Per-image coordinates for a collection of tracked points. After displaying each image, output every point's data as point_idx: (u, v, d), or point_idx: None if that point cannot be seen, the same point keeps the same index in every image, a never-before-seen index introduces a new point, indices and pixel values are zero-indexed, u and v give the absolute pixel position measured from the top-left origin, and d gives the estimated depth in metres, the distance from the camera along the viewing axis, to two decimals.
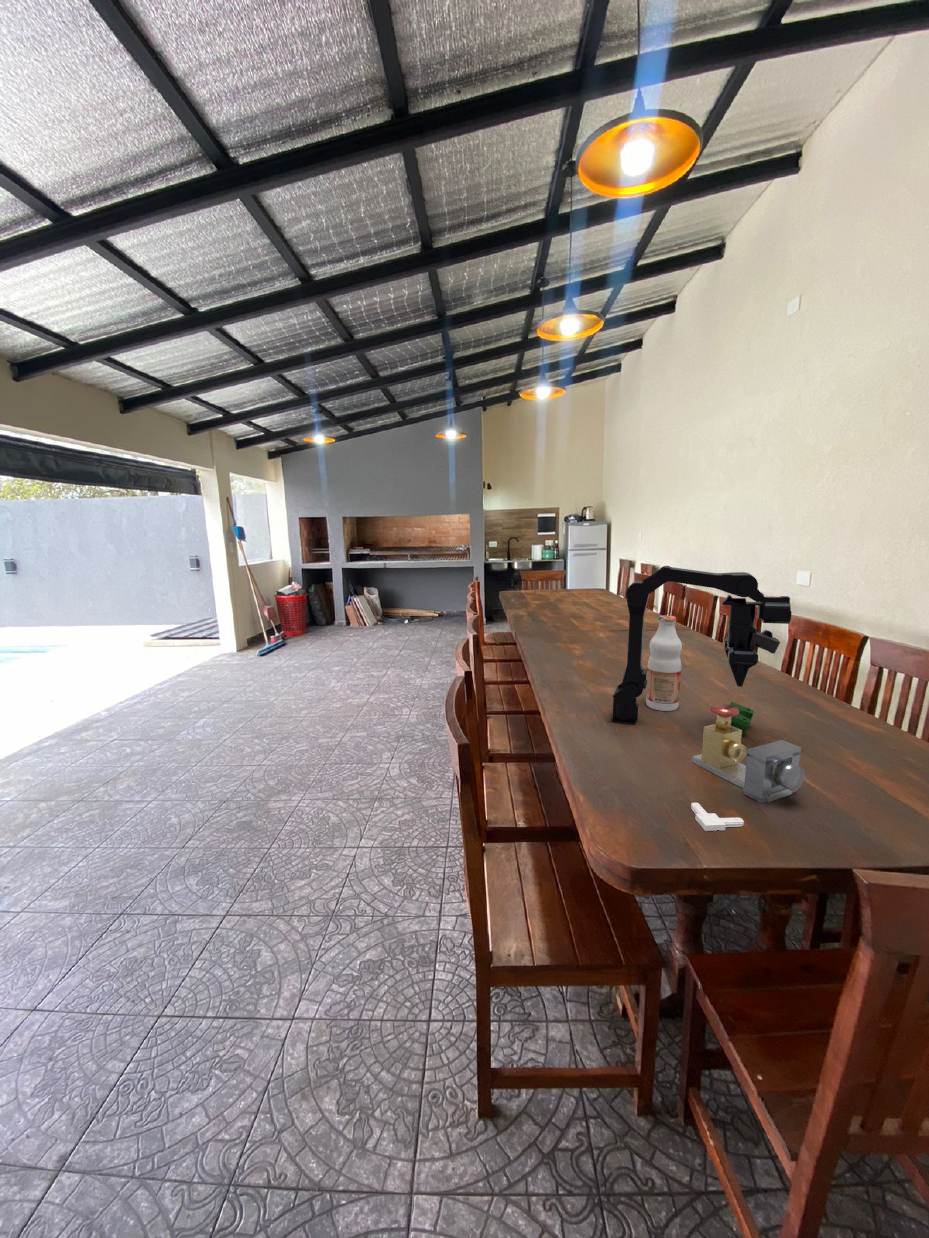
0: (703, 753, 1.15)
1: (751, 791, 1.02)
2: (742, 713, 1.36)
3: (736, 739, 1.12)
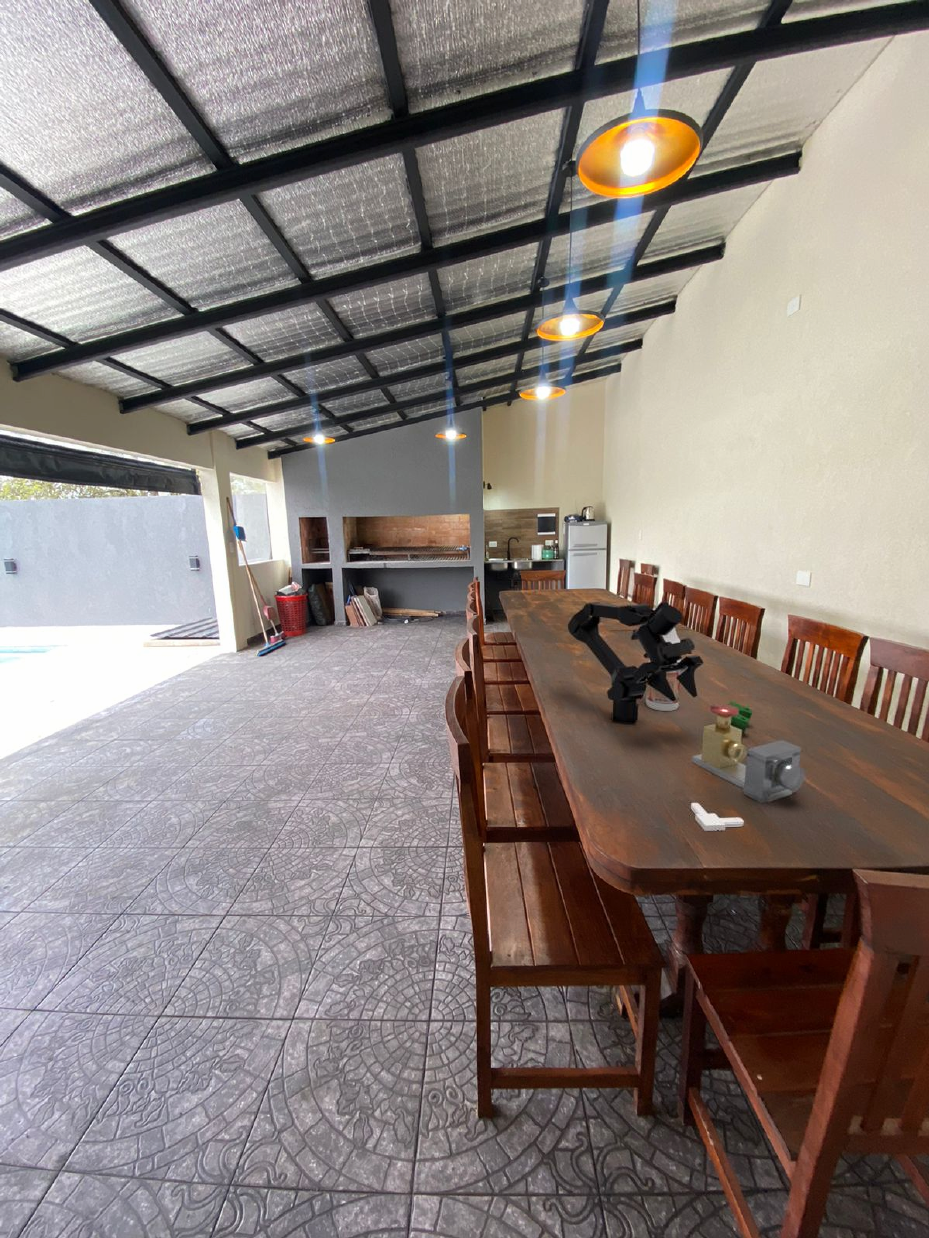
0: (703, 753, 1.15)
1: (751, 791, 1.02)
2: (741, 713, 1.36)
3: (736, 739, 1.12)
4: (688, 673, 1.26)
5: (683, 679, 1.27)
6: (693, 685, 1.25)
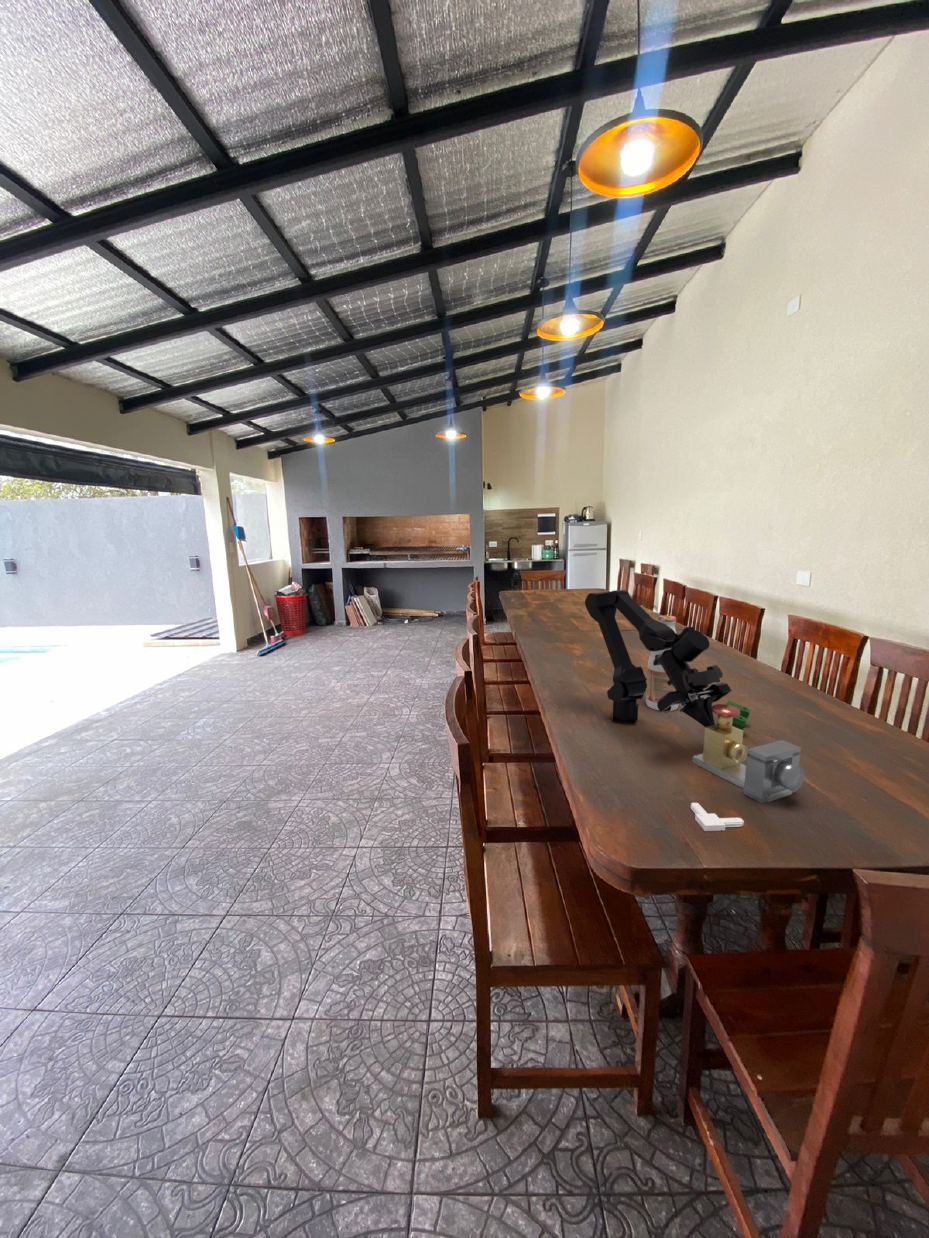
0: (704, 754, 1.15)
1: (751, 791, 1.02)
2: None
3: (737, 740, 1.11)
4: (705, 704, 1.18)
5: None
6: (711, 717, 1.16)
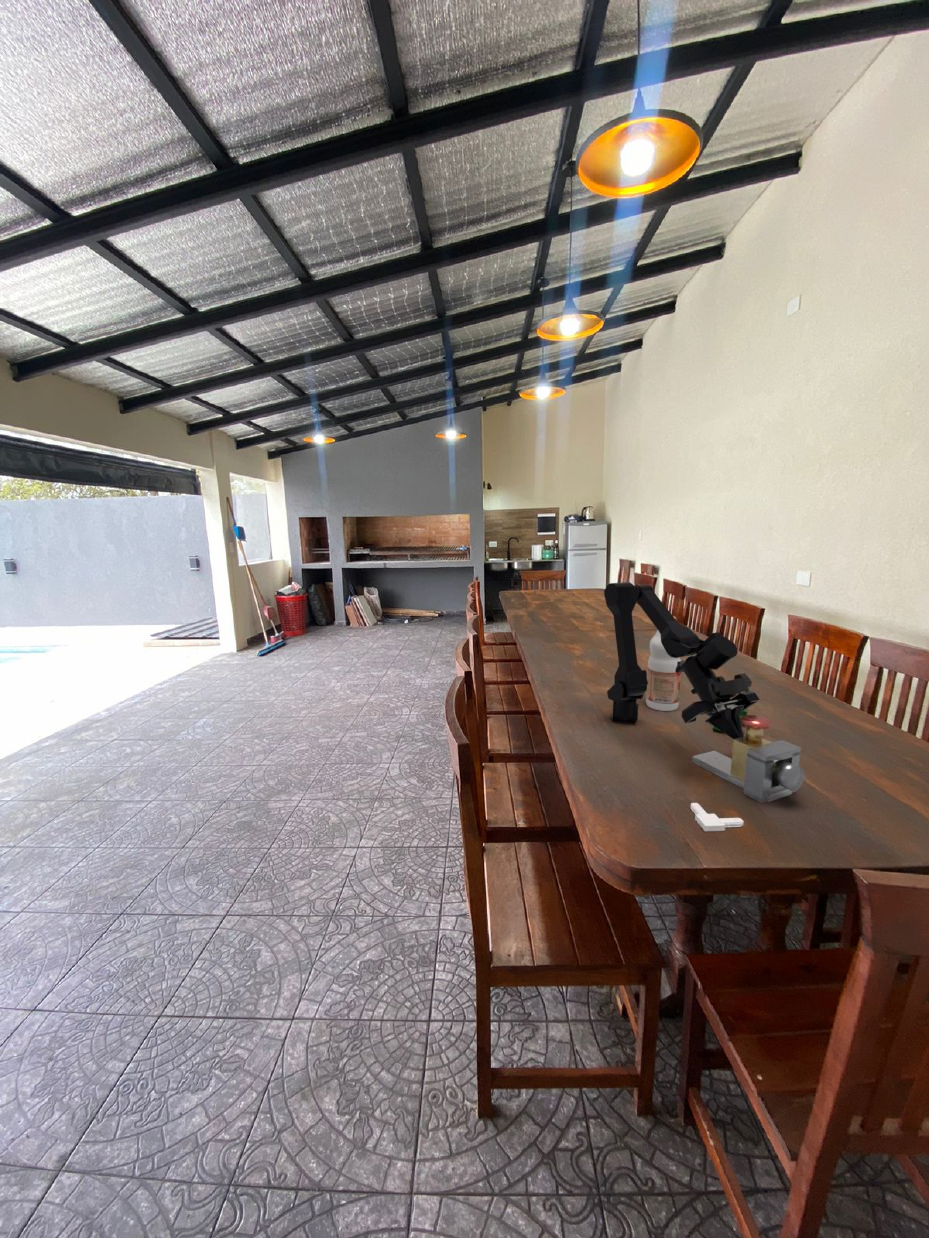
0: (732, 767, 1.08)
1: (751, 791, 1.02)
2: None
3: None
4: (733, 715, 1.11)
5: None
6: (739, 729, 1.10)
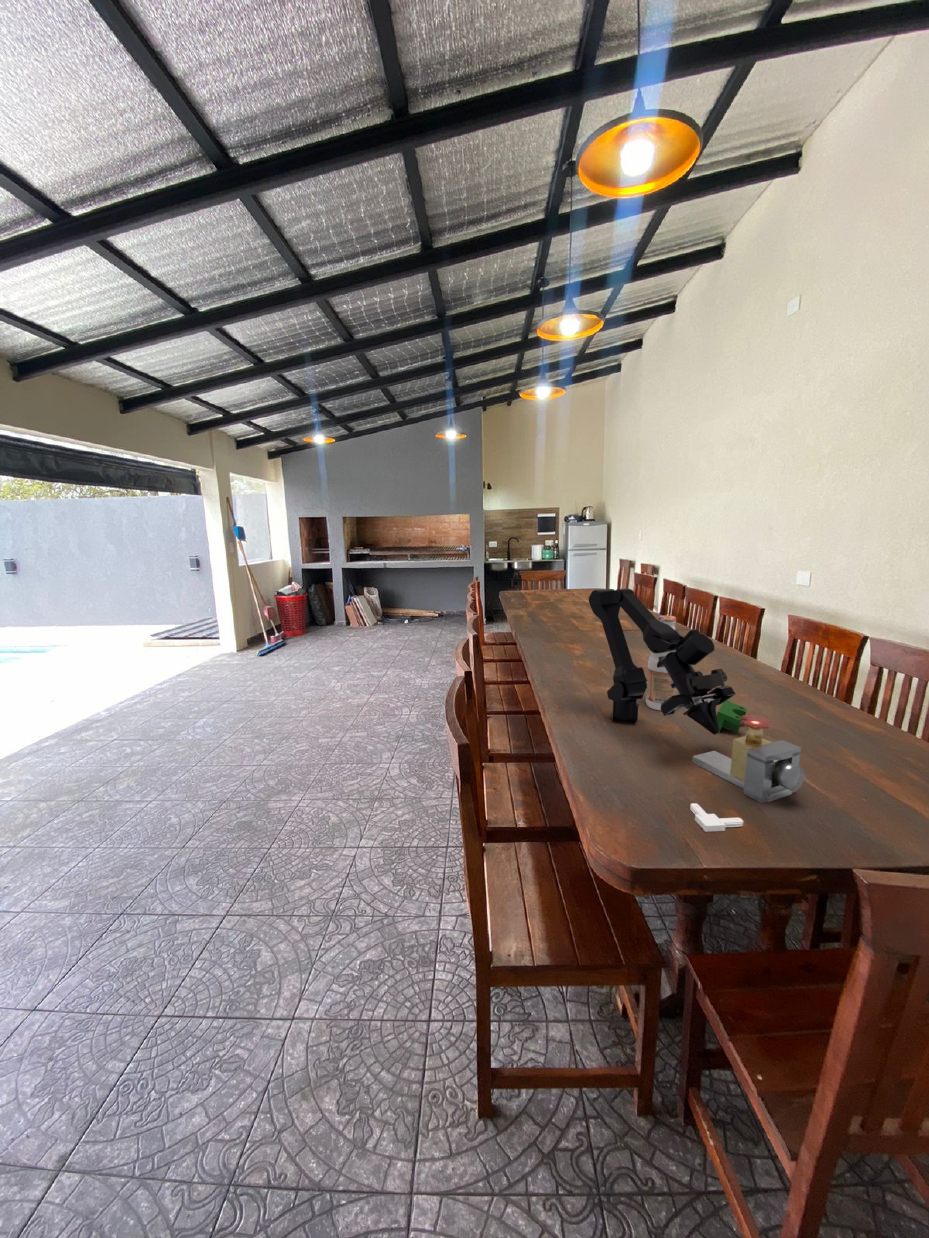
0: (732, 767, 1.08)
1: (751, 791, 1.02)
2: (735, 711, 1.38)
3: None
4: (709, 708, 1.17)
5: None
6: (715, 721, 1.15)
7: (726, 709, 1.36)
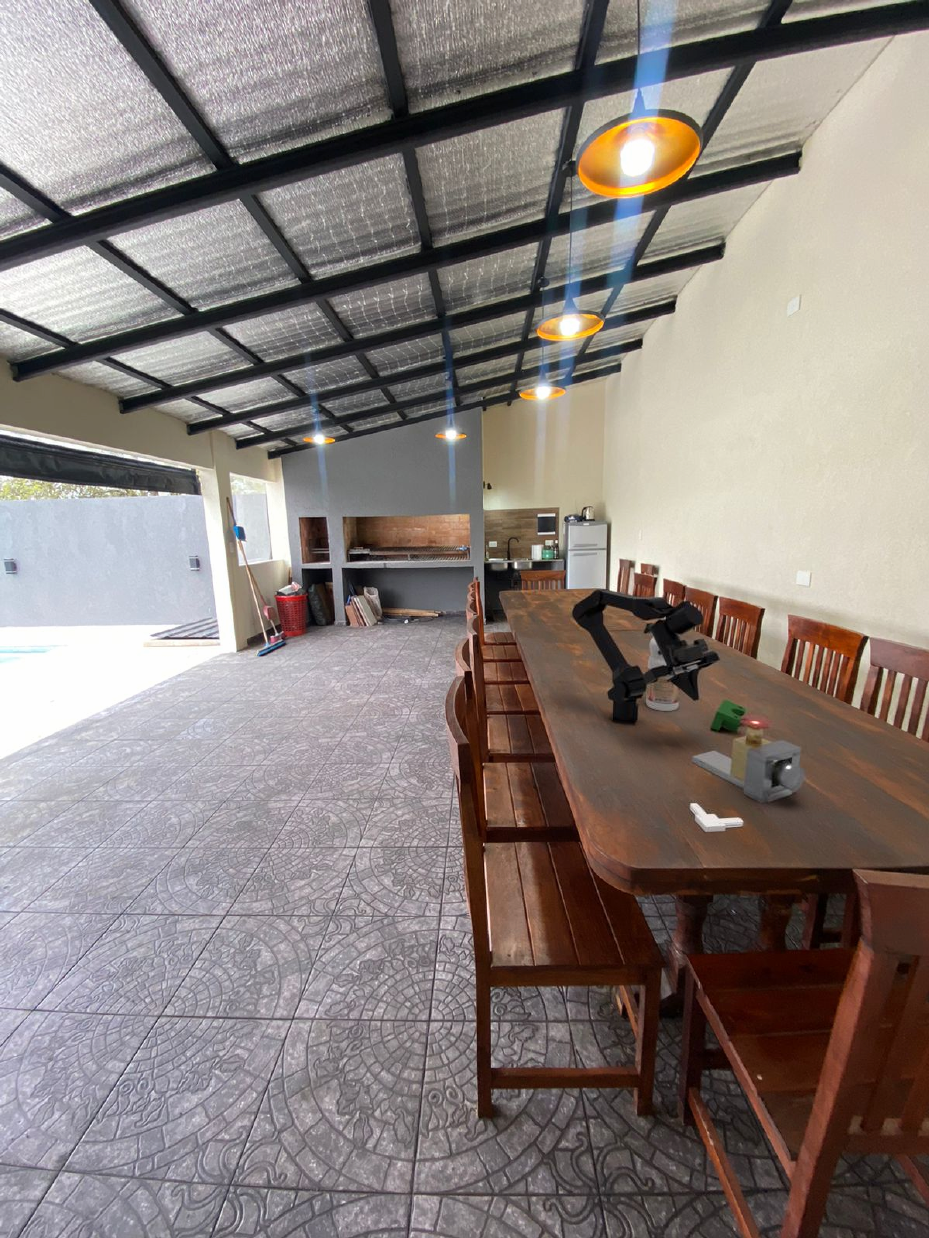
0: (732, 767, 1.08)
1: (751, 791, 1.02)
2: (734, 711, 1.38)
3: None
4: (691, 676, 1.23)
5: None
6: (695, 688, 1.22)
7: (725, 709, 1.36)
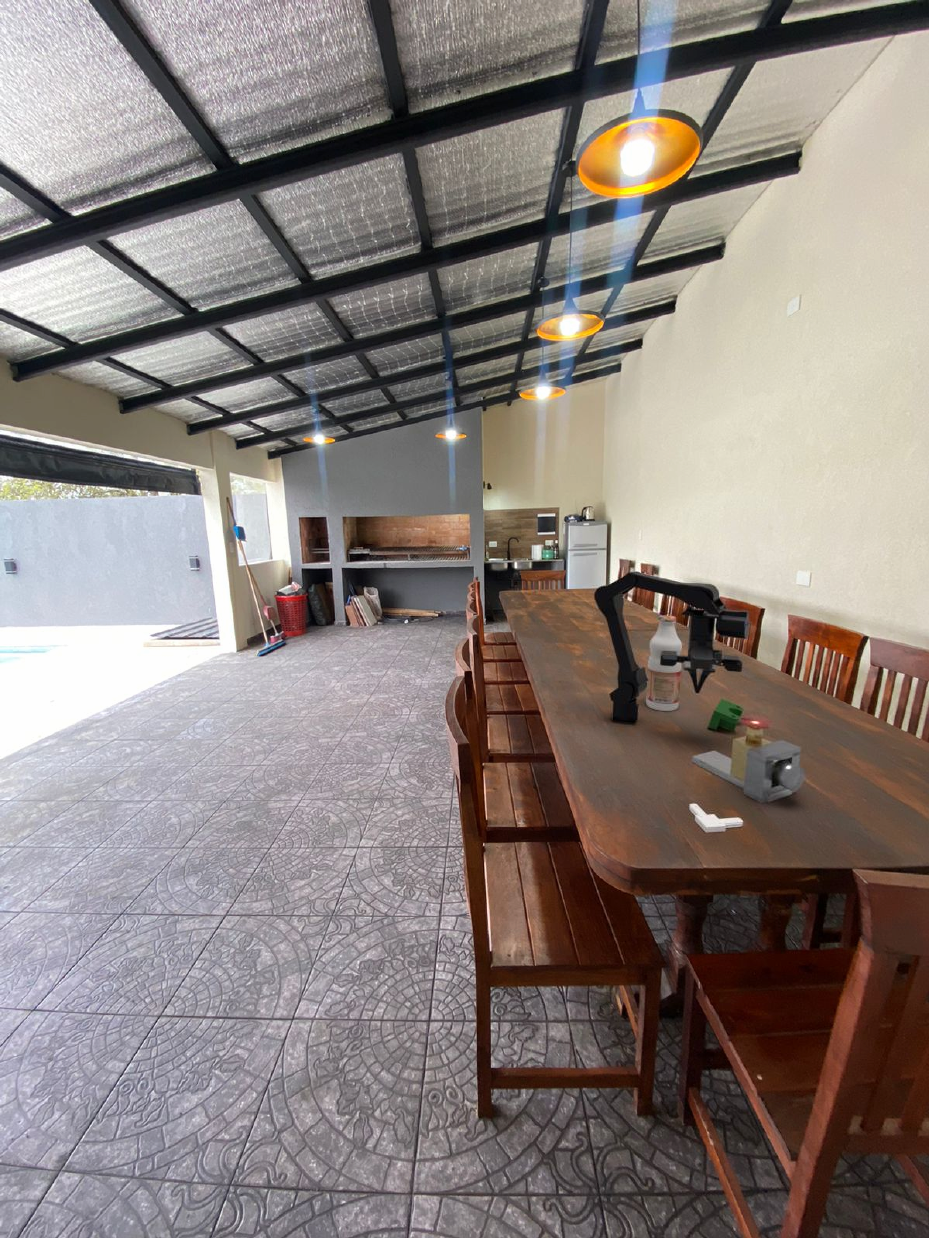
0: (732, 767, 1.08)
1: (751, 791, 1.02)
2: (731, 710, 1.38)
3: None
4: (701, 673, 1.27)
5: (700, 672, 1.29)
6: (699, 684, 1.28)
7: (723, 708, 1.36)
